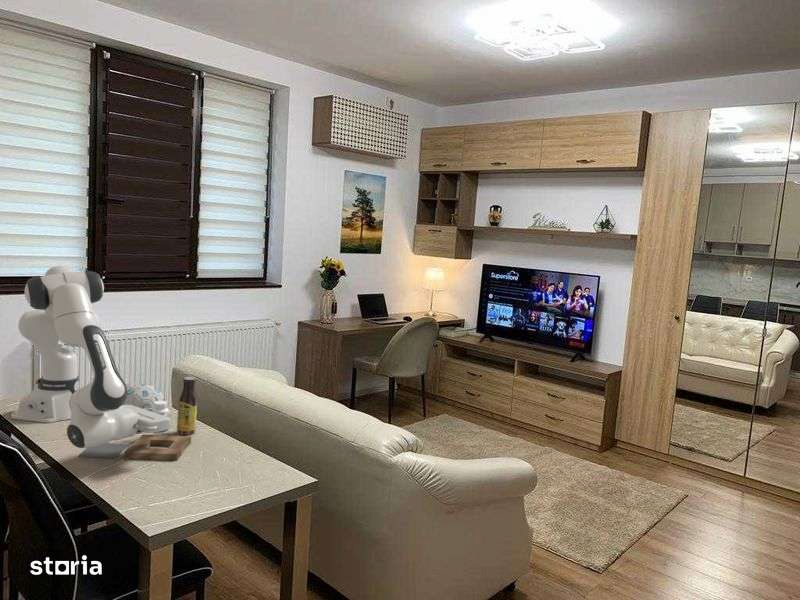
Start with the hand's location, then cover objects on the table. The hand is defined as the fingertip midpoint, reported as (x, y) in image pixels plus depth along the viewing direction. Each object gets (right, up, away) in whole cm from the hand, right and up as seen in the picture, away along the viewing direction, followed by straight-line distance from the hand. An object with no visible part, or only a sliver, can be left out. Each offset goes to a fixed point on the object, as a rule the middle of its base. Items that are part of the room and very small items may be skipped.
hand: (162, 412), depth 197 cm
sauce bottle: (+2, -11, +18) cm, 21 cm away
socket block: (-1, -12, 0) cm, 12 cm away
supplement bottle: (-1, -6, 0) cm, 6 cm away
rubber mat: (-17, -11, -4) cm, 21 cm away
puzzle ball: (-16, -9, +21) cm, 28 cm away
